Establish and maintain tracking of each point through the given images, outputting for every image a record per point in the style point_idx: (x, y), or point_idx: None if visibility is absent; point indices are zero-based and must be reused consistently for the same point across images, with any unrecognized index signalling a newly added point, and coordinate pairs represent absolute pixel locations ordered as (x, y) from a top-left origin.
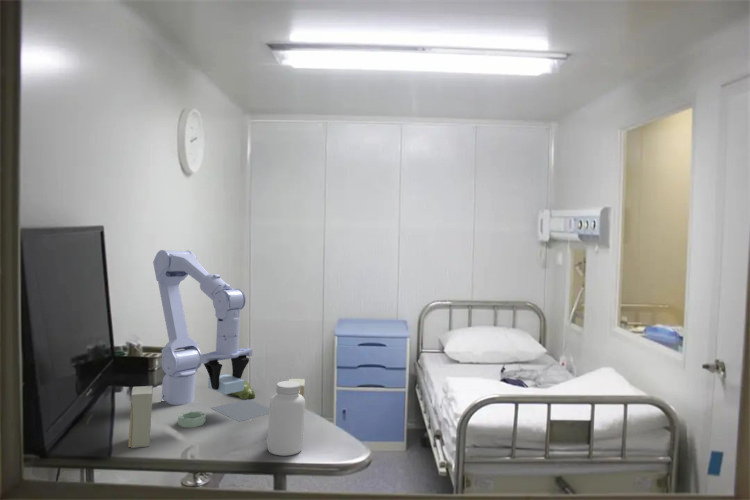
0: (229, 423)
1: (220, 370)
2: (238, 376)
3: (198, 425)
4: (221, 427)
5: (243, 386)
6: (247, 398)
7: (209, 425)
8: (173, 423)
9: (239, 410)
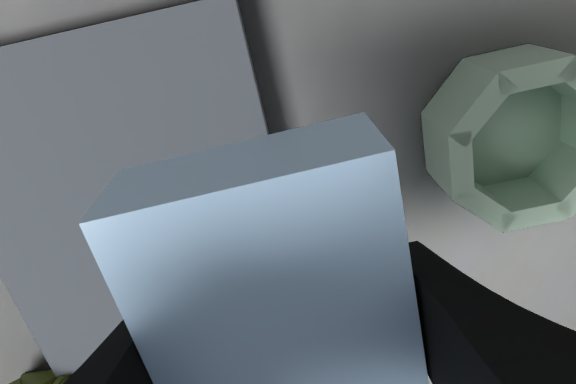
0: (273, 84)
1: (506, 375)
2: (126, 360)
3: (507, 55)
4: (344, 36)
5: (113, 187)
6: (59, 378)
7: (395, 110)
8: (544, 234)
9: None
